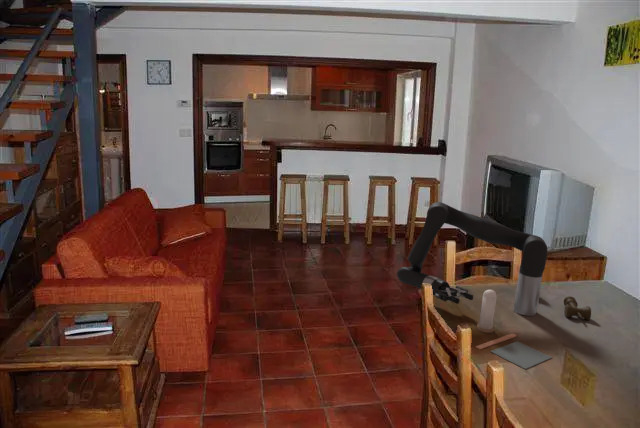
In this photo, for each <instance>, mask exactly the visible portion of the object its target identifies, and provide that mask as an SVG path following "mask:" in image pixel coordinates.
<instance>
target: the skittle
mask: <svg viewBox="0 0 640 428" xmlns="http://www.w3.org/2000/svg"><path fill="white" fill-rule="evenodd" d="M496 304H497V293H496V291H495V290H493V289H486V290H485V291H484V292H483V294H482V301H481V306H480V307H481V308H480V316H479V321H478V323H477V324H476V330H477V331H479V332H481V333H484V334H492V333H494V330H495V327H494V326H493V324H494V319H495V318H494V316H495V310H496Z"/></svg>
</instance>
